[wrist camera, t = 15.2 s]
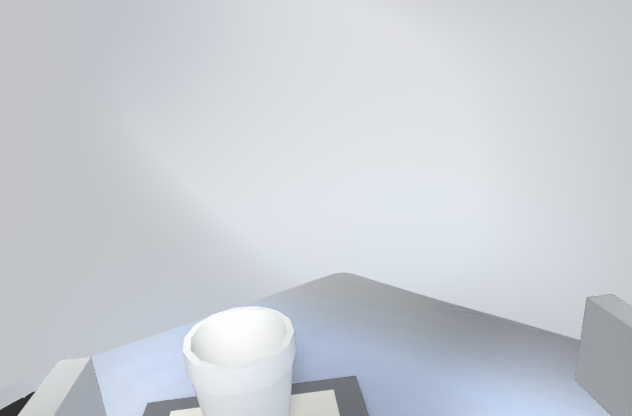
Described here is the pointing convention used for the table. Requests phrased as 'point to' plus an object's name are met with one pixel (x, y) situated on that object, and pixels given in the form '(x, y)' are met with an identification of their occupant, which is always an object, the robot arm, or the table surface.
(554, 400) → the table surface
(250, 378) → the foam cup
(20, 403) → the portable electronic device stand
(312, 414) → the picture frame
